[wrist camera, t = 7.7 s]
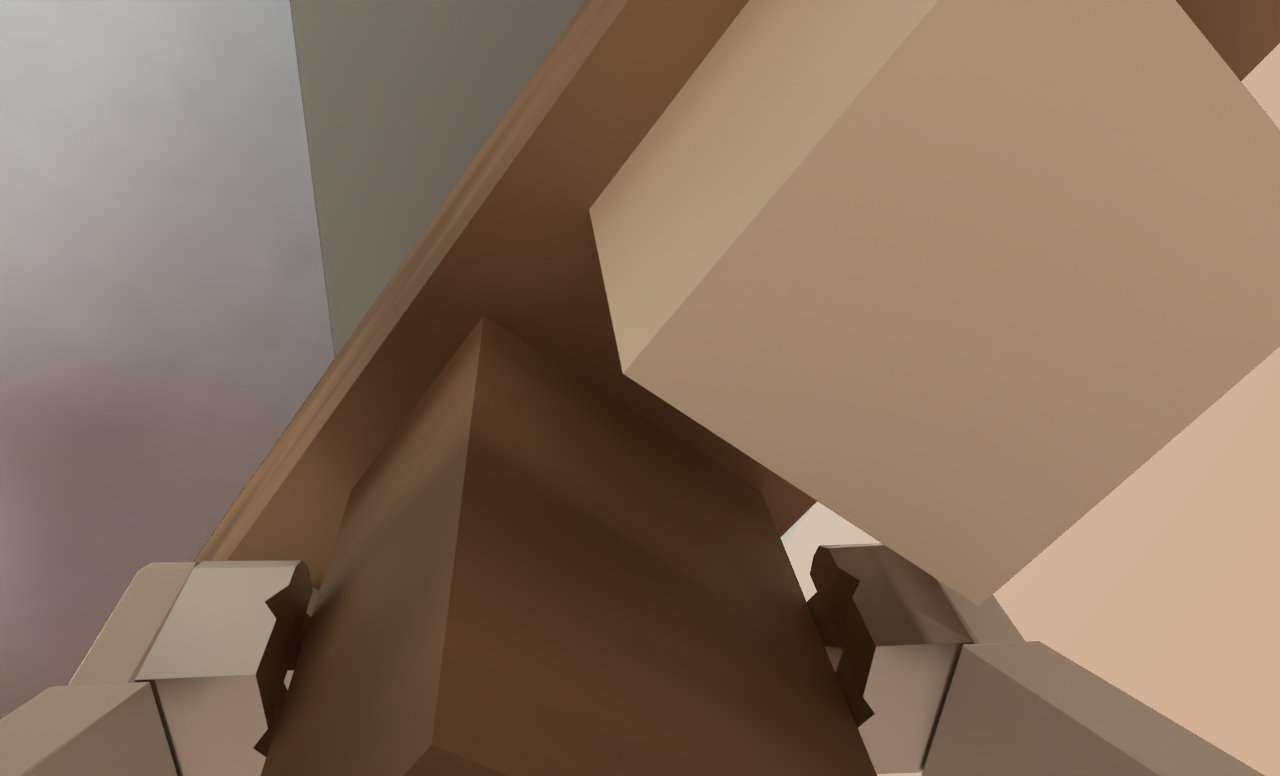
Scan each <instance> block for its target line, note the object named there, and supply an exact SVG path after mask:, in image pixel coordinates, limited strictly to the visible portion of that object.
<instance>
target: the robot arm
mask: <svg viewBox="0 0 1280 776" xmlns="http://www.w3.org/2000/svg"><path fill="white" fill-rule="evenodd" d="M810 575H811V578H812V580H813V583H814V585H815V587H816V590H817V593H816V594H815V595H814V596H812V598H811V599H809V600H808V601H807V605H808V607H809V610H810V612H811V614H812V617H813V619H814V622H815V624H816V627H817V629H818V632H819V634H820V637H821V639H822V641H823V644H824V646H825V649H826V651H827V654H828V656H829V659H830V661H831V664H832V666H833V668H834V671H835V673H836V676H837V678H838V681H839V683H840V686H841V688H842V690H843V693H844V695H845V698H846V700H847V703H848V705H849V708H850V710H851V713H852V715H853V717H854V720H855V722H856V725H857V727H858V730H859V732H860V735H861V737H862V740H863V742H864V744H865V747H866V749H867V752H868V754H869V757H870V759H871V762H872V764H873V767H874V769H875V771H876V774H886V773H915V772H923V773H922V776H1264V775H1263V774H1261V773H1259V772H1258V771H1256V770H1254V769H1252V768H1251V767H1249V766H1248V765H1246V764H1244V763H1243V762H1241V761H1239V760H1237V759H1236V758H1234V757H1232V756H1231V755H1229V754H1227V753H1226V752H1224V751H1222V750H1221V749H1219V748H1217V747H1216V746H1214V745H1212V744H1211V743H1209V742H1207V741H1205V740H1204V739H1202V738H1201V737H1199V736H1197V735H1196V734H1194V733H1192V732H1190V731H1189V730H1187V729H1185V728H1184V727H1182V726H1180V725H1179V724H1177V723H1175V722H1174V721H1172V720H1170V719H1169V718H1167V717H1165V716H1164V715H1162V714H1160V713H1159V712H1157V711H1155V710H1153V709H1152V708H1150V707H1149V706H1147V705H1145V704H1143V703H1142V702H1140V701H1138V700H1137V699H1135V698H1133V697H1132V696H1130V695H1128V694H1127V693H1125V692H1123V691H1122V690H1120V689H1118V688H1117V687H1115V686H1113V685H1111V684H1110V683H1108V682H1107V681H1105V680H1103V679H1101V678H1100V677H1098V676H1096V675H1095V674H1093V673H1091V672H1090V671H1088V670H1086V669H1085V668H1083V667H1081V666H1080V665H1078V664H1076V663H1074V662H1073V661H1071V660H1070V659H1068V658H1066V657H1065V656H1063V655H1061V654H1059V653H1058V652H1056V651H1054V650H1053V649H1051V648H1049V647H1048V646H1046V645H1044V644H1043V643H1041V642H1039V641H1038V642H1026V641H1025V640H1024V639H1023V637H1022V636H1021V634H1020V633H1019V632H1018V630H1017V629H1016V627H1015V626H1014V624H1013V623H1012V621H1011V620H1010V619H1009V617H1008V616H1007V614H1006V613H1005V612H1004V610H1003V609H1002V607H1001V606H1000V604H999V603H998V602H997V600H996V599H995V597H994V596H993V594H992V595H991V596H990V597H989V598H988V599H987V600H985V601H984V602H983V603H982V604H981V605H980V606H977V605H976V604H974V603H973V602H971V601H970V600H968V599H966V598H965V597H963V596H962V595H960V594H959V593H957V592H956V591H954V590H953V589H951V588H950V587H948V586H947V585H945V584H944V583H942V582H940V581H939V580H937V579H936V578H934V577H933V576H931V575H930V574H928V573H927V572H925V571H924V570H922V569H921V568H919V567H918V566H916V565H915V564H913V563H911V562H910V561H908V560H907V559H905V558H904V557H902V556H901V555H899V554H898V553H896V552H895V551H893V550H892V549H890V548H889V547H887V546H885V545H884V544H882V543H880V544H852V545H823V546H819V547H818V549H817V551H816V553H815V555H814V557H813V562H812V567H811V571H810ZM312 592H313V588H312V584H311V579H310V574H309V569H308V566H307V565H306V564H305V563H304V562H303V561H302V560H297V561H203V562H201V563H200V562H155V563H149V564H148V565H146V566H144V567H143V568H141V569H140V570H139V571H138V572H137V573H136V575H135V576H134V578H133V579H132V581H131V583H130V584H129V586H128V588H127V589H126V591H125V592H124V594H123V596H122V597H121V599H120V601H119V602H118V604H117V606H116V607H115V609H114V610H113V612H112V614H111V615H110V617H109V619H108V620H107V622H106V623H105V625H104V627H103V628H102V630H101V632H100V633H99V635H98V636H97V638H96V640H95V641H94V643H93V645H92V646H91V648H90V650H89V651H88V653H87V654H86V656H85V658H84V659H83V661H82V663H81V664H80V666H79V667H78V669H77V671H76V672H75V674H74V676H73V677H72V679H71V681H70V682H69V684H68V685H65V686H50V687H49V688H47V689H46V690H44V691H43V692H41V693H39V694H38V695H36V696H35V697H33V698H32V699H30V700H29V701H27V702H26V703H24V704H23V705H21V706H20V707H18V708H17V709H15V710H13V711H12V712H10V713H9V714H7V715H6V716H4V717H3V718H1V719H0V776H261V773H262V769H263V766H264V763H265V760H266V757H267V754H268V751H269V747H270V744H271V741H272V738H273V735H274V732H275V729H276V725H277V722H278V719H279V716H280V713H281V710H282V707H283V703H284V700H285V697H286V694H287V691H288V688H289V685H290V682H291V678H292V675H293V672H294V669H295V666H296V663H297V660H298V656H299V653H300V650H301V647H302V644H303V641H304V638H305V634H306V631H307V628H308V625H309V622H310V619H311V617H310V616H309V615H308V614H307V613H306V611H307V608H308V605H309V602H310V599H311V595H312Z"/></svg>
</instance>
